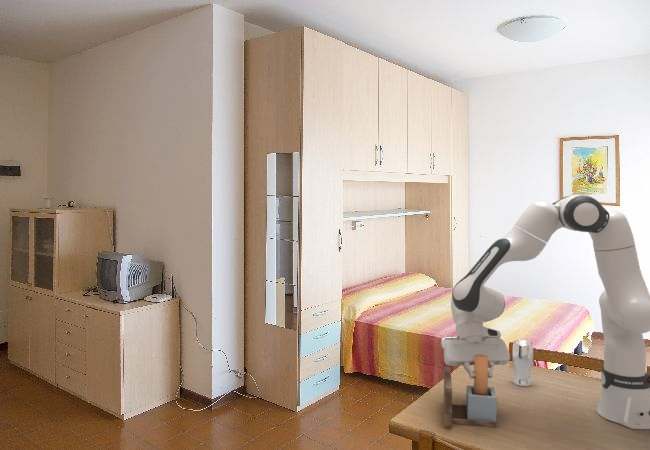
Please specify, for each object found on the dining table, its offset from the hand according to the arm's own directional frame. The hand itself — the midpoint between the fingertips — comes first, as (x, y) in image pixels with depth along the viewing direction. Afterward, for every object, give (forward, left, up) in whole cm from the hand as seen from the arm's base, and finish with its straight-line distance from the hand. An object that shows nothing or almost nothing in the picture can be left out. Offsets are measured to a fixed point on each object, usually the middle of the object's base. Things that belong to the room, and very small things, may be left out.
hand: (481, 377), depth 153 cm
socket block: (0, -1, -13) cm, 13 cm away
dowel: (0, -1, -8) cm, 8 cm away
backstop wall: (+4, -1, -13) cm, 13 cm away
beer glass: (-17, -32, -13) cm, 38 cm away
